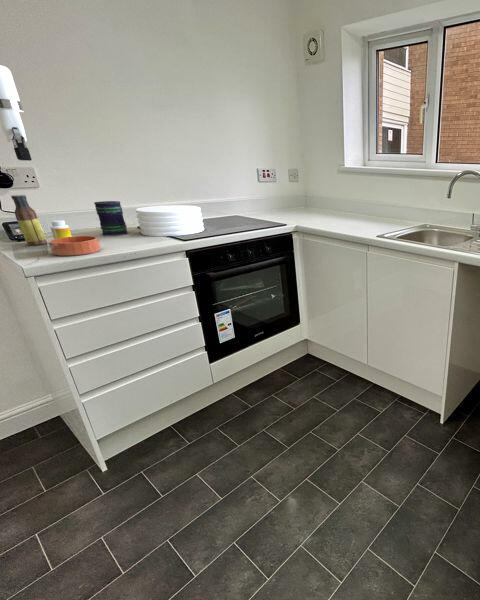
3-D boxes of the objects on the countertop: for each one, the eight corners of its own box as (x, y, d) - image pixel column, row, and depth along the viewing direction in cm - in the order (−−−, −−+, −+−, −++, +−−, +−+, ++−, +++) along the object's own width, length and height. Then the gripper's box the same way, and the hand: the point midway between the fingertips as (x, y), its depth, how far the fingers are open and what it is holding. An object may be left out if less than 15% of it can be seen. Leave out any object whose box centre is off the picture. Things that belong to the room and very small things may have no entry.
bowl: (55, 258, 128) (50, 245, 126) (51, 251, 137) (46, 238, 135) (104, 252, 138) (100, 240, 136) (97, 246, 146) (94, 234, 145)
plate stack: (131, 230, 178) (126, 207, 174) (188, 224, 200) (184, 204, 196) (155, 238, 164) (150, 213, 159) (214, 231, 185) (211, 208, 181)
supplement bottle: (78, 244, 148) (70, 220, 144) (65, 247, 143) (57, 222, 139) (66, 243, 149) (58, 219, 145) (52, 246, 143) (44, 221, 140)
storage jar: (98, 234, 169) (89, 202, 163) (120, 231, 177) (112, 200, 171) (110, 236, 165) (101, 203, 159) (132, 233, 173) (124, 202, 168)
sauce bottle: (44, 241, 151) (28, 194, 143) (50, 243, 148) (33, 195, 140) (23, 244, 145) (5, 194, 138) (29, 246, 142) (10, 196, 135)
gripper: (-10, 106, 122) (8, 159, 129) (-10, 102, 112) (10, 160, 118) (21, 109, 128) (37, 160, 134) (23, 106, 117) (41, 161, 123)
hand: (24, 160), depth 126 cm, fingers open, 9 cm apart
